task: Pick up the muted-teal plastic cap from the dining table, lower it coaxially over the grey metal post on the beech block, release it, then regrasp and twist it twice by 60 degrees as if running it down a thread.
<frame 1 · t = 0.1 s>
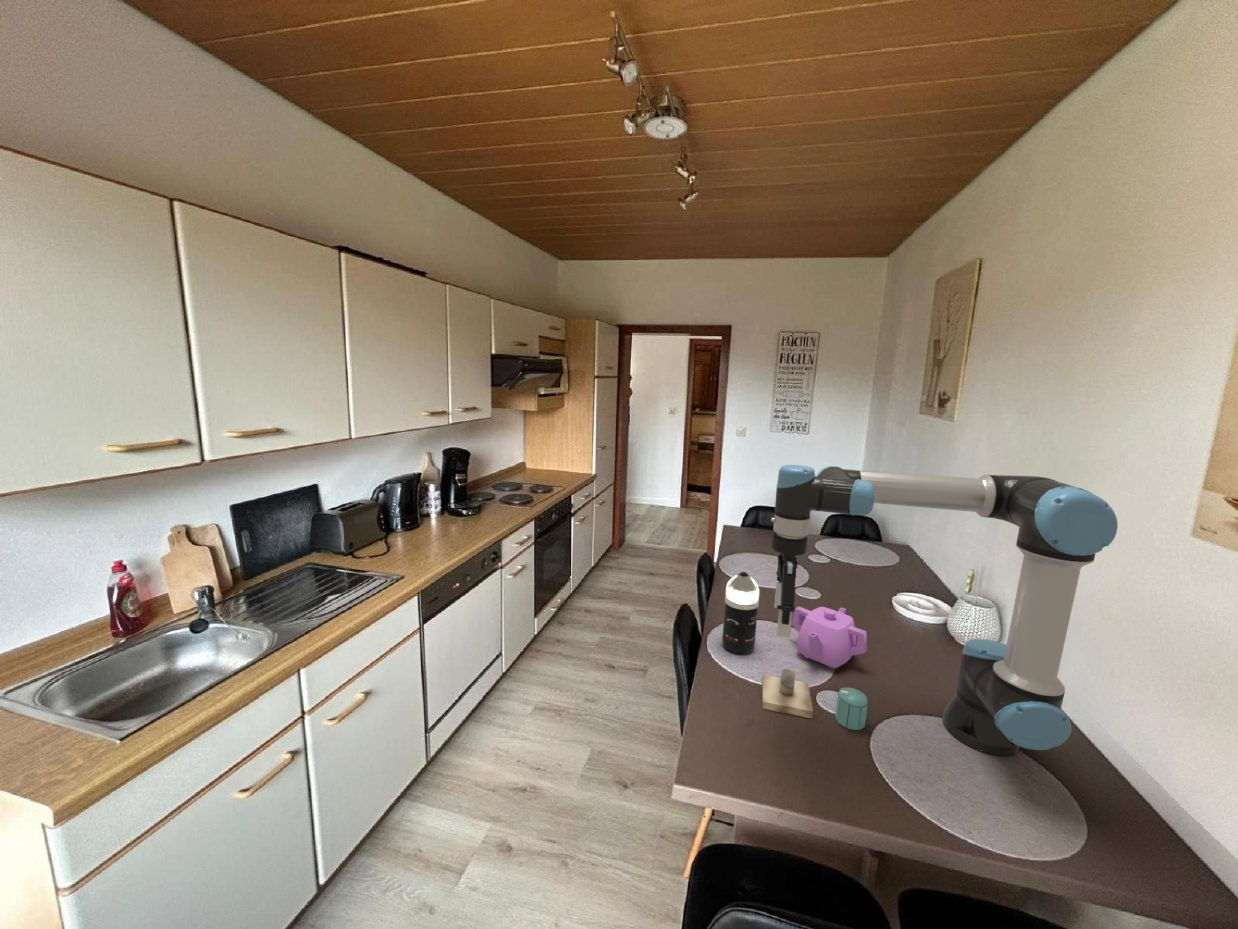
hand: (781, 621, 113), 28 cm above the table, fingers open, 13 cm apart
teapot: (824, 657, 149), on the table
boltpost: (785, 698, 129), on the table
black bottle: (737, 647, 153), on the table
cap: (849, 720, 121), on the table
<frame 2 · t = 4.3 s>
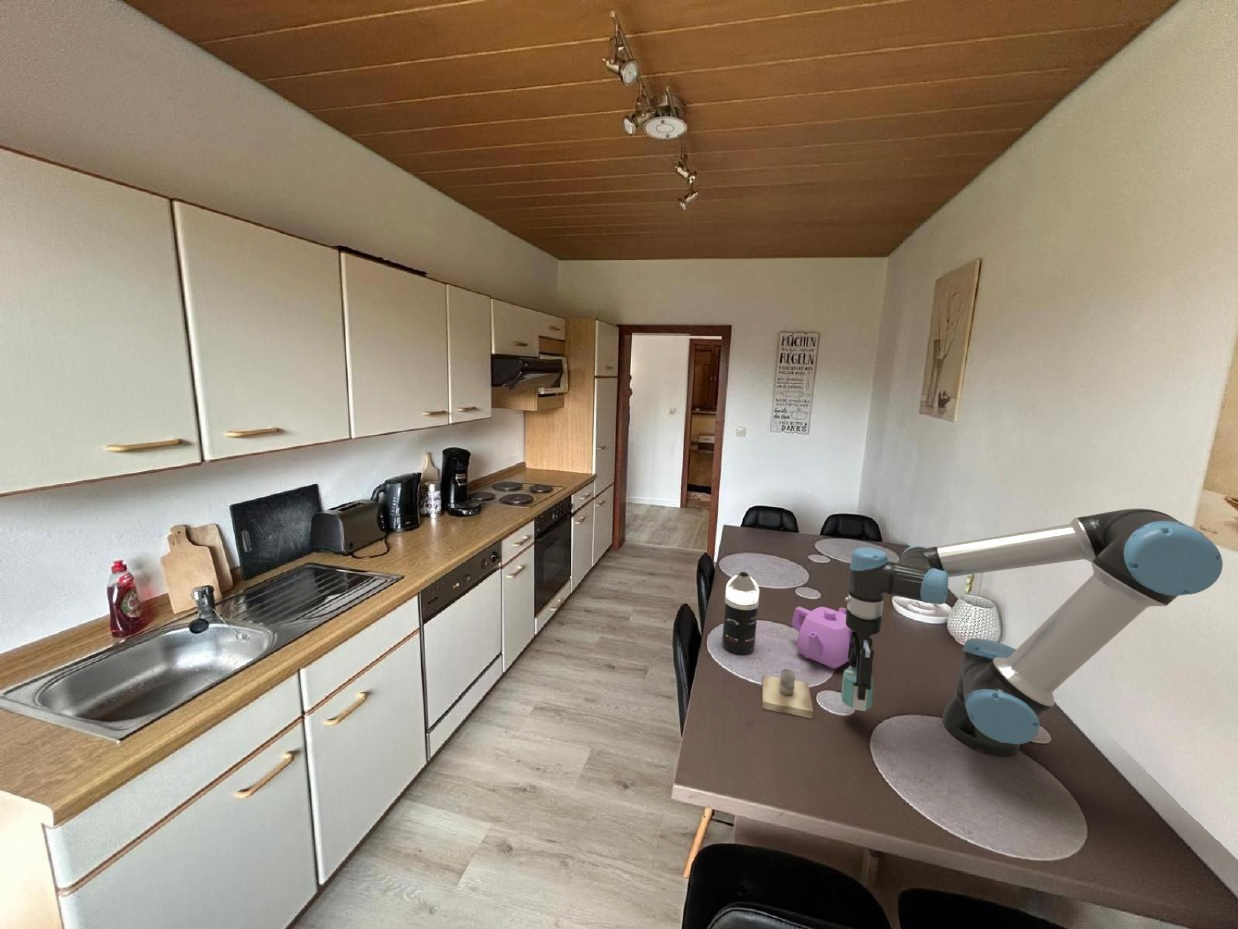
hand: (856, 700, 120), 6 cm above the table, fingers closed on cap, 6 cm apart
cap: (855, 701, 120), point 6 cm above the table, touching gripper
everything else where it was.
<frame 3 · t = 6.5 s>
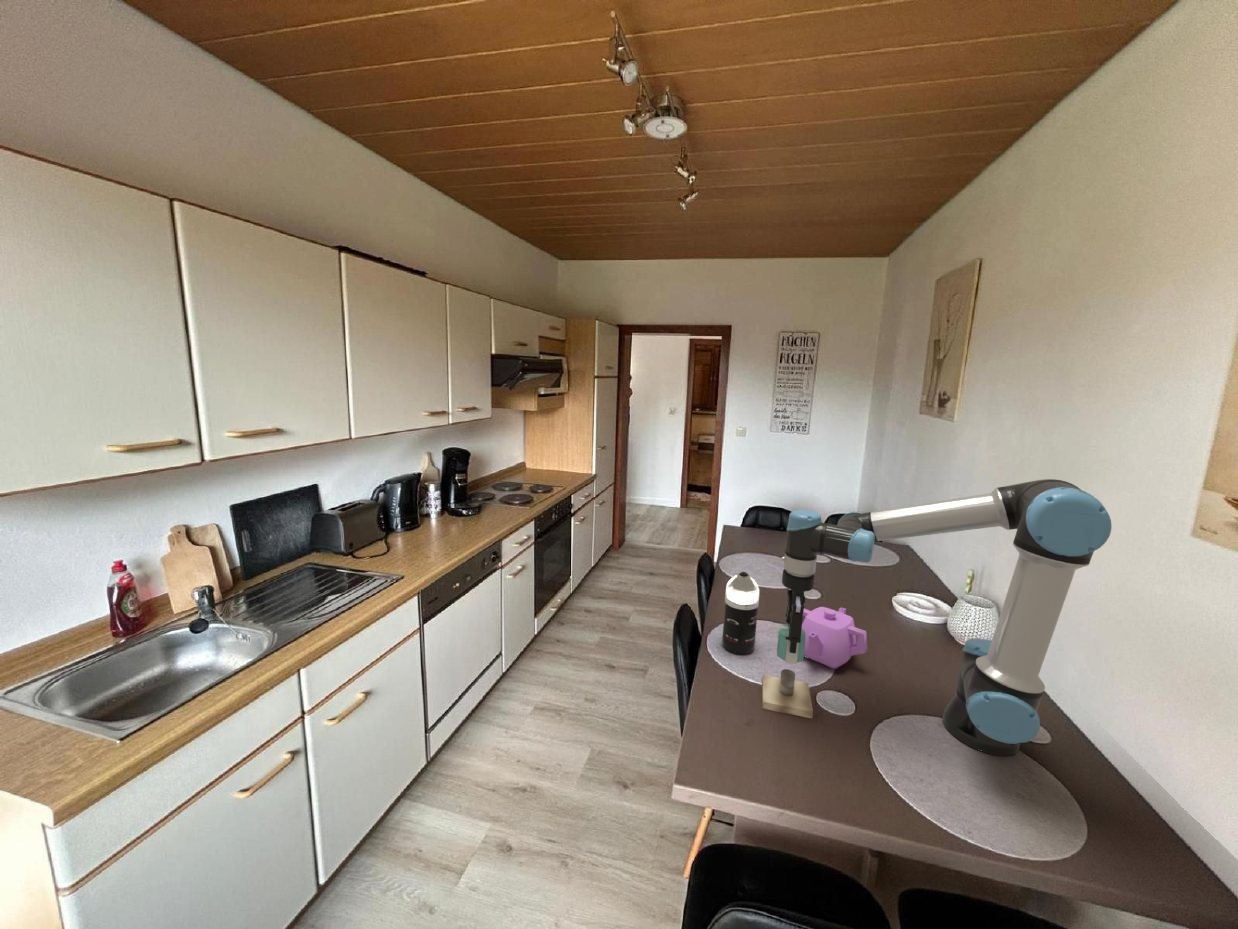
hand: (789, 654, 127), 13 cm above the table, fingers closed on cap, 6 cm apart
cap: (789, 655, 127), point 13 cm above the table, touching gripper
everything else where it was.
when the fingers open (4 cm above the table, at t = 8.7 s): cap drops 2 cm, resting on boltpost.
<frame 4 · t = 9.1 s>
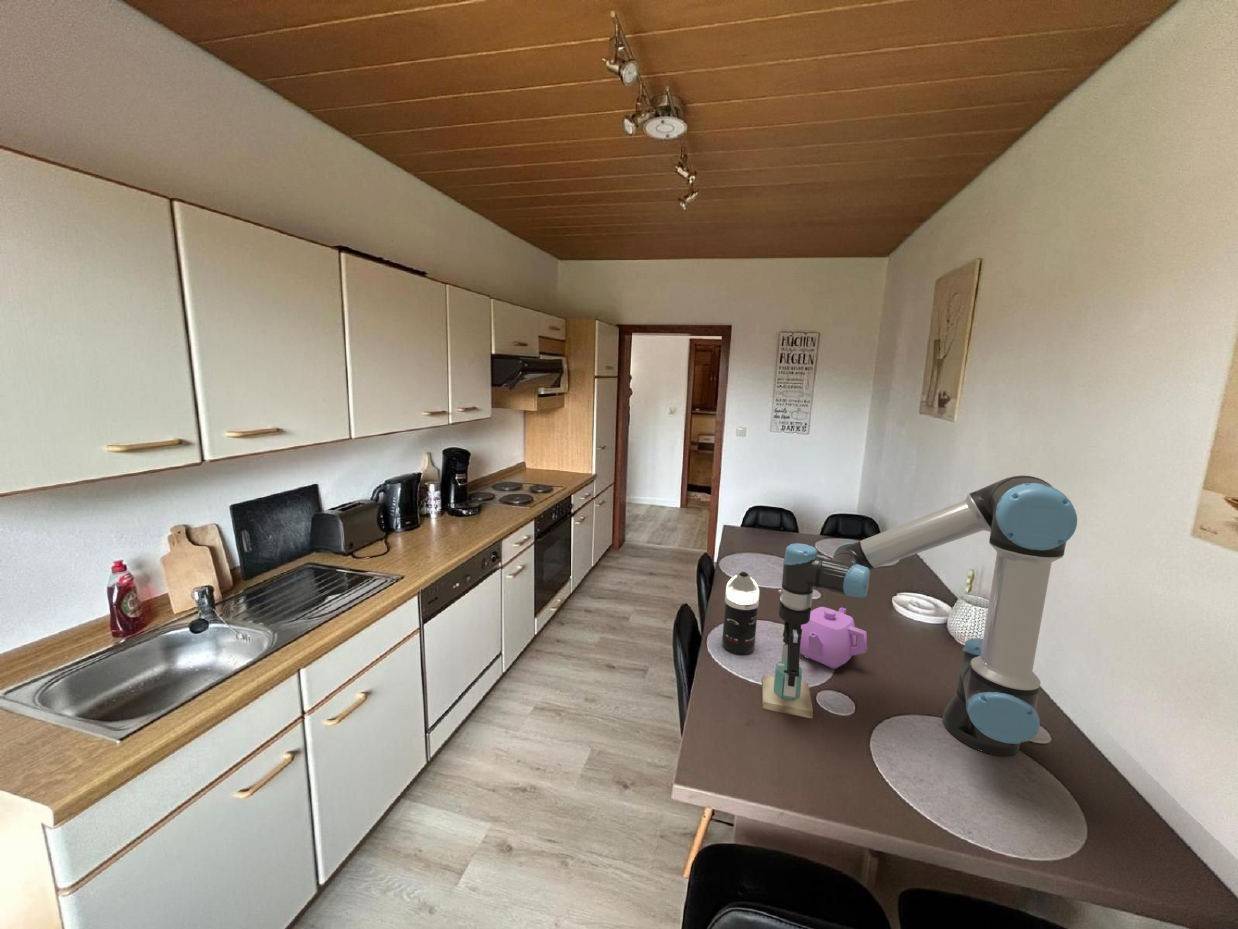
hand: (787, 680, 128), 5 cm above the table, fingers open, 12 cm apart
cap: (786, 692, 128), point 2 cm above the table, touching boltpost
everything else where it was.
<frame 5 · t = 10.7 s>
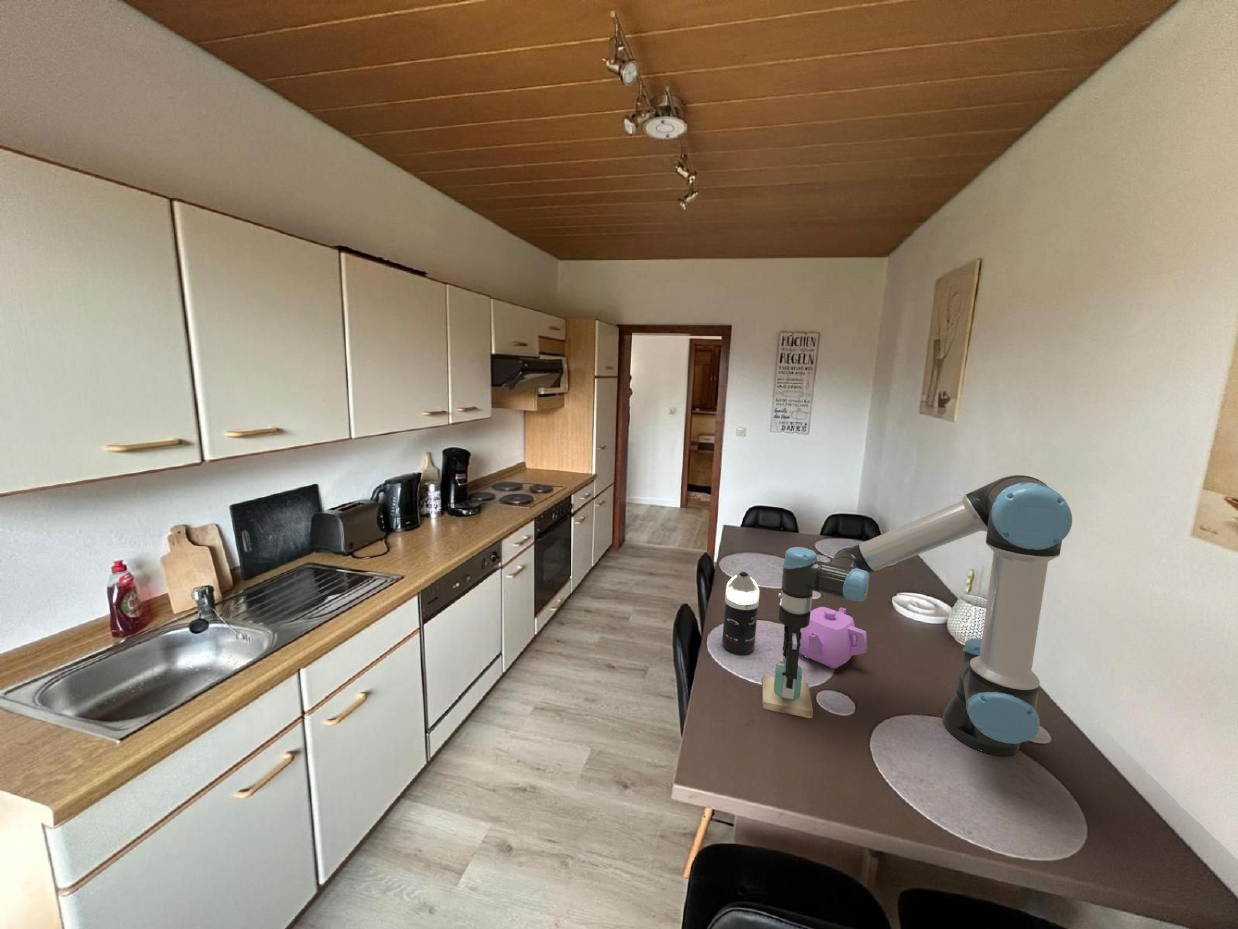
hand: (786, 688, 128), 3 cm above the table, fingers closed on cap, 6 cm apart
cap: (786, 692, 128), point 2 cm above the table, touching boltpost, gripper
everything else where it was.
when the fingers open (3 cm above the table, at t = 11.6 s): cap stays where it is, resting on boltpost.
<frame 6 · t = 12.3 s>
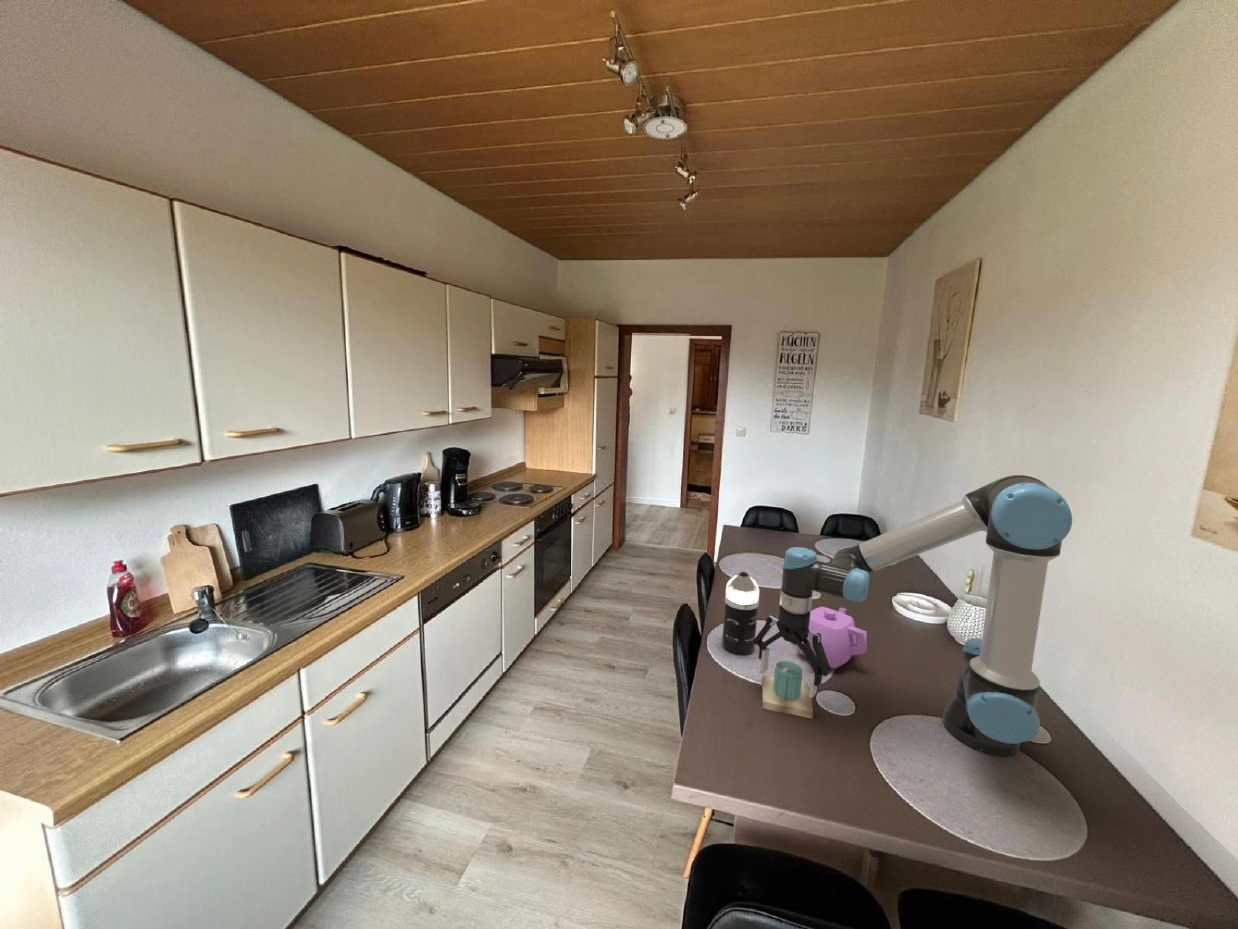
hand: (787, 682, 128), 5 cm above the table, fingers open, 13 cm apart
cap: (786, 692, 128), point 2 cm above the table, touching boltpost
everything else where it was.
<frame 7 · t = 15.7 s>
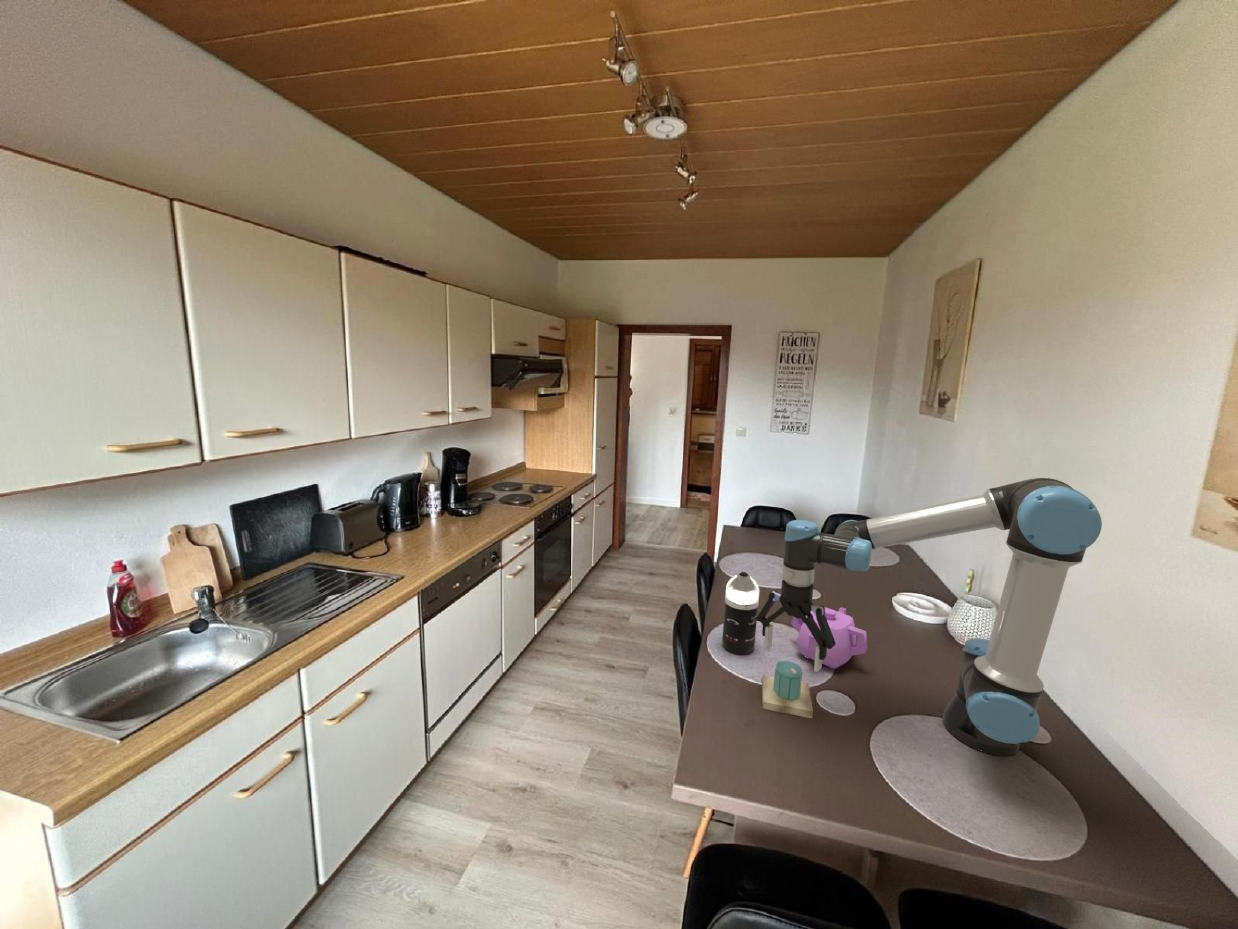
hand: (791, 658, 126), 12 cm above the table, fingers open, 13 cm apart
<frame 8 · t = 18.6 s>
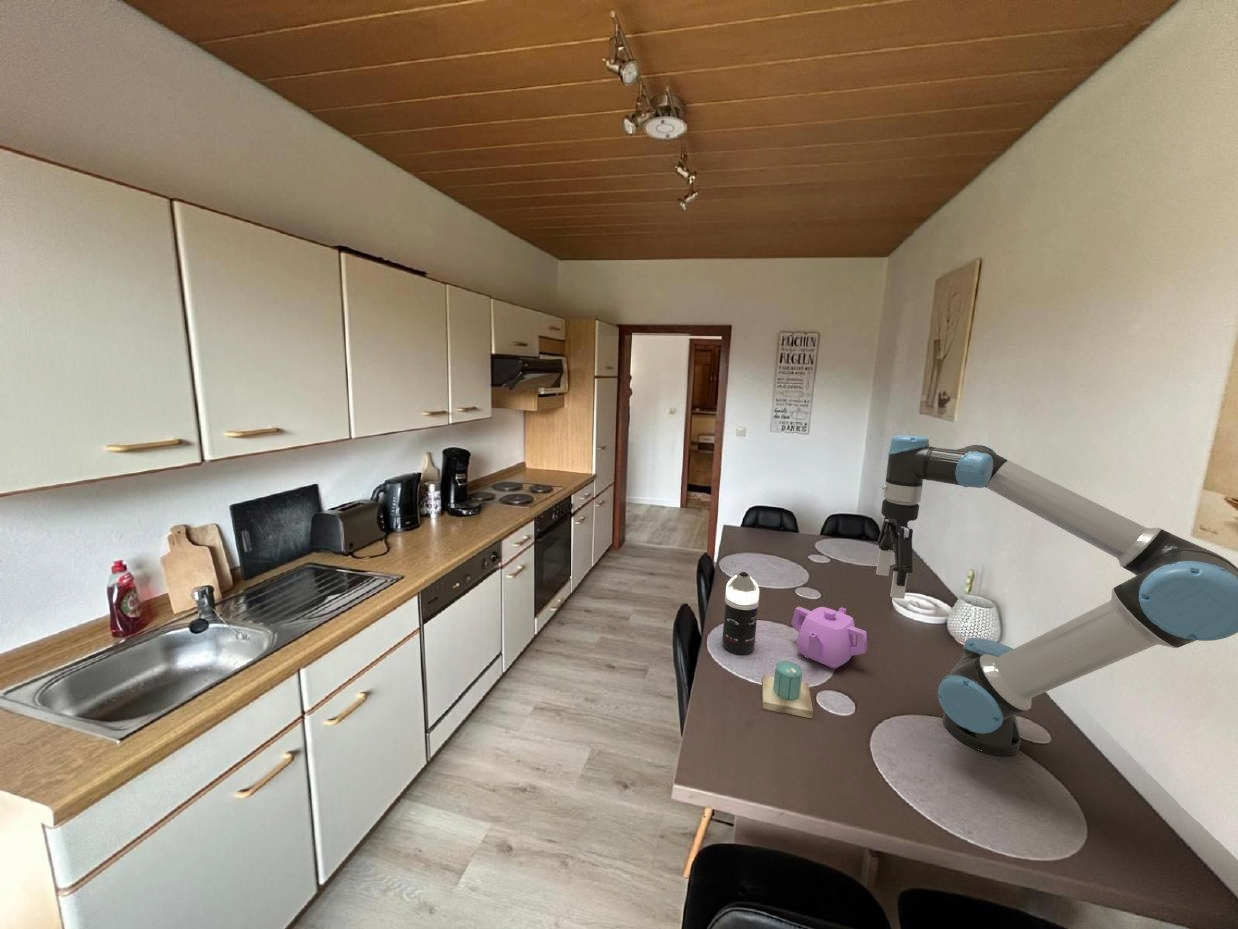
hand: (889, 585, 118), 35 cm above the table, fingers open, 13 cm apart
nothing on the table moved.
at the end: cap 0.0 cm off-centre on the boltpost, point 2.0 cm above the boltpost's base; the gripper is holding nothing; cap tilted 0° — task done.
